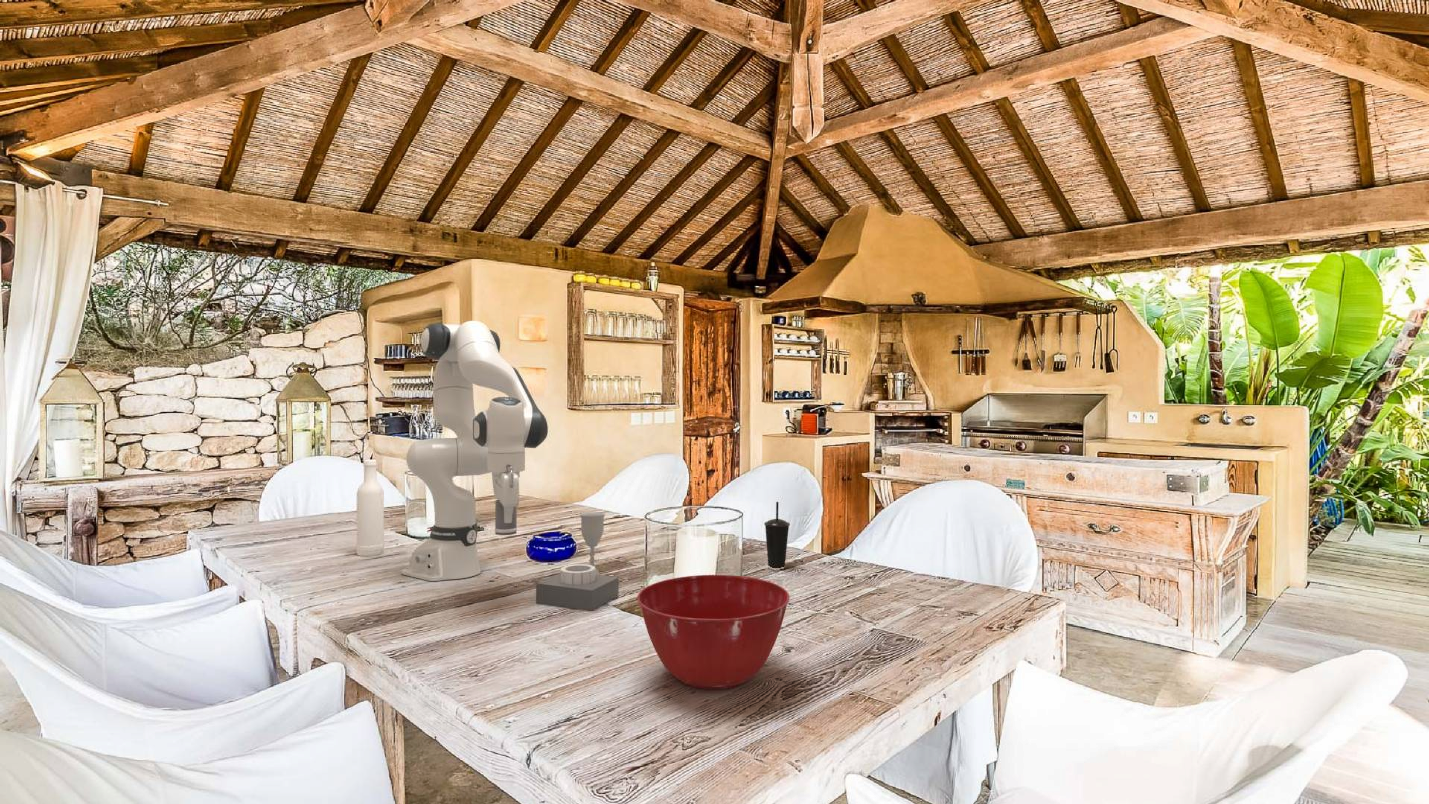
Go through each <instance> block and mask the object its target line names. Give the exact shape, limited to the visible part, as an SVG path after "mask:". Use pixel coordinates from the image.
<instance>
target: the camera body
mask: <svg viewBox="0 0 1429 804" xmlns="http://www.w3.org/2000/svg"><path fill="white" fill-rule="evenodd" d="M595 569H596V566H595V565H594V566H592V565H591V564H585V563H584V564H583V563H580V564H579V563H578V564H576V563H575V564H570V565H569V564H568V565H565V566H562V567H561V568H560V573H558V574H556V575H553V576H550V577H547V578H544V579H543V580H540V581H537V582H536V584H535V587H536V588H535V604H538V603H540V604H539V605H546V606H551V607H559V606H561V607H562V608H569V609H574V610H581V609H582V611H589V612H590V611H591V612H592V611H595V610H596V609H599V608H601V607H602V606H604V605H606V604H607V603H609V602H612V601H613V600H616V599H617V598H619V583H620V582H619V577H618V576H609V575H601V574H600V575H595ZM616 597H617V598H616ZM611 600H612V601H611ZM561 607H560V608H561ZM598 607H599V608H598Z"/></svg>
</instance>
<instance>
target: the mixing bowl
mask: <svg viewBox="0 0 1429 804" xmlns="http://www.w3.org/2000/svg"><path fill="white" fill-rule="evenodd" d="M790 597H791V596H790V594H789V592H788V591H787V590H786V589H785V588H784V587H782V586H781V585H779V584H776V583H775V582H771V581H768V580H764V579H761V578H756V577H751V576H745V575H744V576H743V575H733V574H699V575H687V576H679V577H674V578H669V579H665V580H661V581H656V582H655V583H651V584H650V585H648V586H645V587H644V588H642V589H641V590H640V591H639V593H638V594H637V602H638V604H639V605H640V610H641V613H642V617H643V620H644V624H645V628H646V631H647V633H648V636H649V639H650V641H651V644H652V646H653V648H654V651H655V653H656V654H657V656H658V658H659V661H660V662H661V663H662V665H663V666H664V668H665V670H666V671H667V672H668V673H669V674H670V675H672V676H673V677H674V678H676V679H678V680H679V681H681V682H682V683H684V684H686V685H687V686H691V687H693V688H698V689H703V690H723V689H724V690H725V689H730V688H734V687H737V686H740V685H742V684H744V683H745V682H747V681H748V680H750V679H752V677H754V676H756V675H757V673H759V672H760V671H761V670H762V668H763V667H764V666H765V664H766V662H767V660H768V658H769V656H770V654H771V653H772V651H773V649H774V646H775V644H776V641H777V639H778V636H779V634H780V631H781V629H782V628H781V627H782V625H783V621H784V618H785V614H786V609H787V605H788V604H789V603H790Z"/></svg>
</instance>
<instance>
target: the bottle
mask: <svg viewBox="0 0 1429 804" xmlns="http://www.w3.org/2000/svg"><path fill="white" fill-rule="evenodd" d="M362 466H363V483H361V484H360V485H359V486H358V489H357V492H356V556H358V557H374V556H379V555H383V554H384V548H385V543H384V541H385V540H384V539H385V538H384V537H385V534H384V531H385V528H384V523H385V522H384V517H385V516H384V510H385V509H384V505H385V504H384V502H385V501H384V499H385V498H384V497H385V496H384V489H383V487H382V485H381V484H380V483H379V482H378V481H377V466H378V463H377V460H376V459H365V460H364V461H363V465H362Z"/></svg>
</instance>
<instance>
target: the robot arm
mask: <svg viewBox="0 0 1429 804" xmlns="http://www.w3.org/2000/svg"><path fill="white" fill-rule="evenodd" d="M420 346H421V350H422V353H423V354H424V356H425V357H426V358H428V359H431V360H435V361H437V363H436V364H435V365H436V366H435V369H434V375H433V384H432V385H433V387H432V389H433V390H432V391H433V393H432V395H433V396H432V398H433V418H434V419H435V421H436V422H437V423H438V424H439V425H441V426H442V427H444V428H446V429H449V430H451V431H453V433H455V435H456V437H442V438H441V437H434V438H427V439H421V440H416V441H414V442H412V444H411V445H410V446H409V448H408V449H407V453H406V458H405V459H406V465H407V467H408V469H409V471H410V472H411V473H412V475H414V476H416V477H418V478H419V479H420V480H421V481H422V482H423V483H424V484H425V485H426V486H427V488H428V489H429V491H430V493H431V497H432V500H433V507H434V508H433V509H434V511H433V512H434V524H433V525H432V526H429V527H427V528H426V529H427V530H426V532H427V533H429V532H430V535H429V537H428V539H426V540H425V541H424V542H423V543H422V544H420V545H419V546H417V548H415V549H414V550H413V551H412V553H411V556H410V559H409V566H406V567H405V568H403V569H401V571H400V574H401V575H404V576H406V577H407V576H408V577H412V578H416V579H420V580H425V581H428V582H437V581H438V582H440V581H445V580H446V581H447V580H458V579H465V578H471V577H473V576H478V575H479V574H481V573H482V568H481V566H480V564H481V563H480V560H479V553H478V548H477V547H478V546H477V538H478V523H477V522H476V520H477V519H476V514H477V513H476V512H477V511H476V509H477V508H476V507H477V506H476V505H477V504H476V502H477V501H476V497H475V496H474V494H473V493H472V492H471V491H469V490H467V489H465V488H464V487H461V486H458V485H456V484H455V483H454V481H453V480H454V478H455V477H466V476H467V477H469V476H482V475H487V474H491V477H492V478H491V479H492V488H493V495H494V497H495V498H496V500H499V502H500V503H501V504H502V505H503V507H504V522H505V523H511V522H512V513H513V507H519V506H520V482H519V481H520V480H519V478H520V472H524V471H525V470H526V448H527V449H537V448H538V447H539V446H540V445H541V444H542V443H543V442H544V441H546V439H547V437H548V433H549V427H548V421H547V418H546V416H545V414H544V413H543V412H542V411H541V410H540V409H539V408H538V406H537V404H536V403H535V400H534V399H533V397H532V395H531V393H530V390H529V389H528V387H527V385H526V383H525V381H524V379H523V377H522V376H521V374H520V372H519V371H518V370H517V368H516V367H514V366H513V365H511V364H509V363H508V362H507V361H506V360H505V359H504V358H503V356H502V355H501V354H500V352H501V339H500V336H499V335H498V333H497V332H496V331H494V330H491V329H489V327H488V326H487V324H485V323H483V322H481V321H478V320H469V321H465V322H464V323H461V324H454V323H452V324H451V323H442V322H433V323H429V324H428V325H427V326H425V328H424V329H423V332H422V334H421V337H420ZM438 360H439V361H438ZM473 385H475V386H479V387H483V388H487V389H490V390H491V389H492V390H495V391H498V392H501V393H503V394H505V395H506V396H498V397H493V398H492V399H490V400H489V406H488V408H487V409H486V410H483V411H480V412H479V413H478V414H477V415H476V411H475V403H474V386H473Z"/></svg>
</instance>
